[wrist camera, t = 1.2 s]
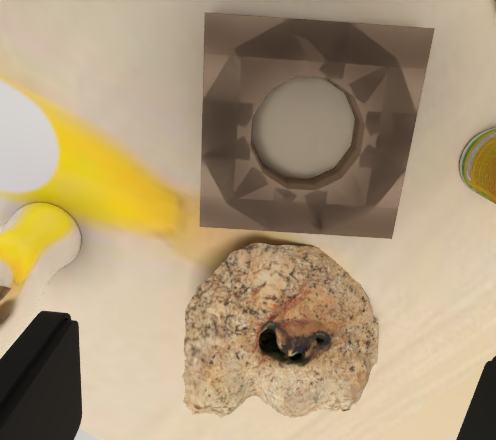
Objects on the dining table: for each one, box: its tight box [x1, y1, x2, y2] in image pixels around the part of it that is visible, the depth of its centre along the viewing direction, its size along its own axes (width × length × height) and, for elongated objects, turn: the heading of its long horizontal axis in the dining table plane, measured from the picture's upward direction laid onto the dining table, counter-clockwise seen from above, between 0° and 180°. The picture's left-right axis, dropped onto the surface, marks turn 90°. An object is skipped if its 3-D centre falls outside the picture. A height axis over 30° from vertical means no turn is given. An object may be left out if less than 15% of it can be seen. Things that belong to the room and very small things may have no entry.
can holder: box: [200, 13, 434, 239], centre depth 32 cm, size 15×15×3 cm
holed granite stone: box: [182, 243, 379, 417], centre depth 37 cm, size 18×14×8 cm
